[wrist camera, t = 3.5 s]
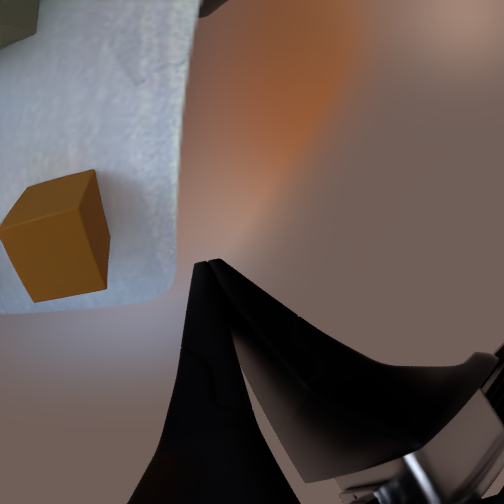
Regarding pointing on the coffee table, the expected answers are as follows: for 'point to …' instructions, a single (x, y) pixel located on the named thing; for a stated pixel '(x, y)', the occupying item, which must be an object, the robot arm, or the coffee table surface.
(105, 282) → the block saffron
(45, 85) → the coffee table surface
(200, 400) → the robot arm
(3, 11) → the block sage
